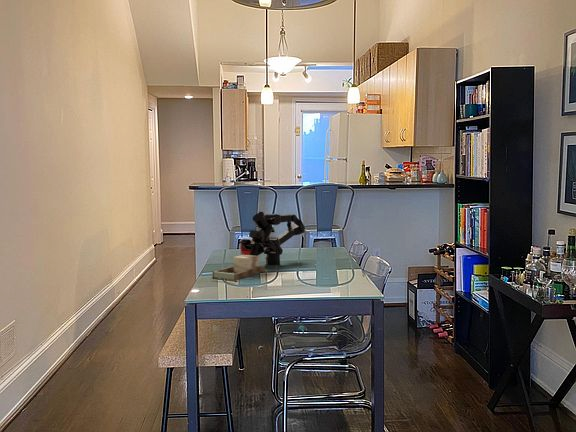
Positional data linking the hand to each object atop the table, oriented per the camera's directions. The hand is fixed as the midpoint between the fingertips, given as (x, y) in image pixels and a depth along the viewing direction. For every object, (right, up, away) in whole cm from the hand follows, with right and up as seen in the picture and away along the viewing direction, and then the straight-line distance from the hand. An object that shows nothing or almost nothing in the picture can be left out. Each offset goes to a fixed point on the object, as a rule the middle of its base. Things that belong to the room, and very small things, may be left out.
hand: (251, 258), depth 281 cm
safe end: (-9, -8, -13) cm, 18 cm away
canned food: (-5, -3, +40) cm, 40 cm away
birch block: (-2, -6, -3) cm, 7 cm away
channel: (-5, -8, -8) cm, 12 cm away
